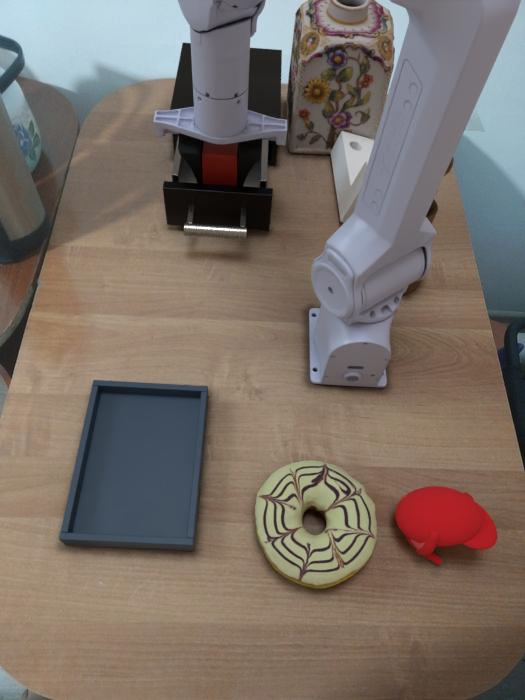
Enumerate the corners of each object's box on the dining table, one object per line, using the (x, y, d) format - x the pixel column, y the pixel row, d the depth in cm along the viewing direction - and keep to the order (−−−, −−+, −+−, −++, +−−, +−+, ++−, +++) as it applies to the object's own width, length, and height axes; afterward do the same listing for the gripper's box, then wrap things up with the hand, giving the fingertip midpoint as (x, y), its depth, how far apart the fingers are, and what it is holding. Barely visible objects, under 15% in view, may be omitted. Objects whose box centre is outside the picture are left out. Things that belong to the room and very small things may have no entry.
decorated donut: (331, 451, 54) (337, 436, 51) (392, 554, 50) (404, 544, 46) (234, 498, 51) (235, 485, 48) (290, 612, 47) (295, 606, 43)
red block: (236, 203, 69) (237, 156, 63) (203, 201, 68) (201, 154, 63) (238, 178, 71) (239, 131, 65) (206, 176, 71) (205, 128, 65)
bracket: (391, 233, 72) (423, 189, 65) (340, 221, 69) (369, 175, 63) (376, 164, 78) (404, 118, 72) (330, 152, 76) (355, 104, 70)
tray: (194, 550, 49) (193, 545, 47) (64, 545, 48) (58, 539, 47) (208, 395, 57) (207, 385, 55) (97, 389, 56) (93, 379, 55)
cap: (386, 557, 50) (405, 541, 44) (390, 492, 53) (407, 470, 48) (477, 574, 49) (506, 560, 44) (475, 507, 52) (502, 487, 47)
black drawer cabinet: (275, 166, 76) (280, 116, 69) (174, 159, 75) (169, 108, 69) (277, 99, 83) (281, 49, 77) (185, 93, 83) (182, 42, 76)
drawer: (268, 258, 66) (271, 223, 61) (162, 251, 65) (157, 215, 60) (271, 157, 75) (275, 119, 70) (179, 151, 75) (176, 112, 70)
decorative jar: (285, 102, 83) (299, -32, 68) (363, 106, 84) (394, -26, 68) (287, 156, 77) (302, 21, 61) (371, 160, 77) (407, 28, 62)
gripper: (291, 65, 60) (280, 167, 71) (154, 55, 59) (166, 159, 71) (291, 106, 56) (279, 207, 67) (145, 95, 55) (158, 199, 67)
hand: (221, 185), depth 69 cm, fingers closed on red block, 4 cm apart
